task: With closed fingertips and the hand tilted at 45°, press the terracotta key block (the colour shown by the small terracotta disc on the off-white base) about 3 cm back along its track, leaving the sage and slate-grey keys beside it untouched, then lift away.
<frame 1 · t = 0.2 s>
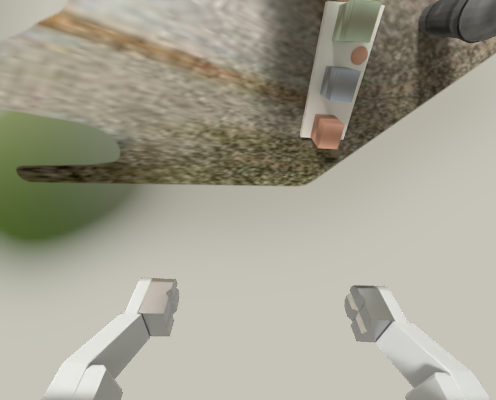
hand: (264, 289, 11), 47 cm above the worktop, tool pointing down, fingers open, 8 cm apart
terracotta key: (326, 131, 48), point 5 cm above the worktop, slide at 0.0 cm
beverage cup: (431, 18, 42), on the worktop
sage key: (354, 23, 38), point 5 cm above the worktop, slide at 0.0 cm
key base: (334, 79, 48), on the worktop
slate key: (338, 83, 43), point 5 cm above the worktop, slide at 0.0 cm
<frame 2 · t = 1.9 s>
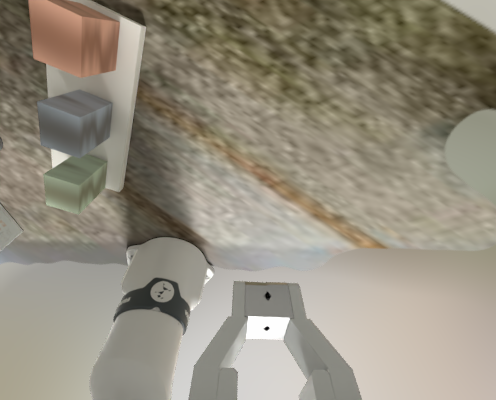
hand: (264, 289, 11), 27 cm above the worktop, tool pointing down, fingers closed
terracotta key: (80, 38, 23), point 5 cm above the worktop, slide at 0.0 cm
sage key: (78, 181, 32), point 5 cm above the worktop, slide at 0.0 cm
key base: (95, 108, 32), on the worktop
slate key: (79, 122, 28), point 6 cm above the worktop, slide at 0.0 cm
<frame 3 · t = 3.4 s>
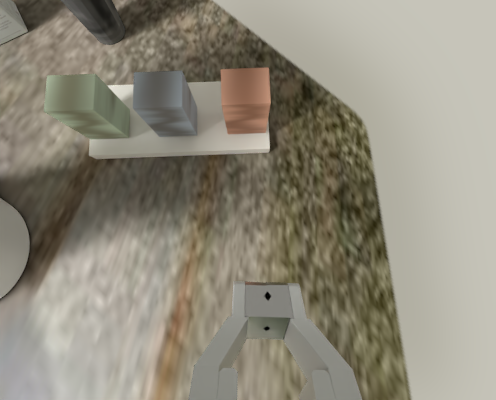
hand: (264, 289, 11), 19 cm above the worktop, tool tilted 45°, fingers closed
small box: (0, 31, 35), on the worktop
terracotta key: (245, 104, 27), point 5 cm above the worktop, slide at 0.0 cm
beverage cup: (111, 32, 35), on the worktop
sage key: (92, 110, 27), point 6 cm above the worktop, slide at 0.0 cm
key base: (182, 121, 33), on the worktop
slate key: (169, 107, 27), point 6 cm above the worktop, slide at 0.0 cm
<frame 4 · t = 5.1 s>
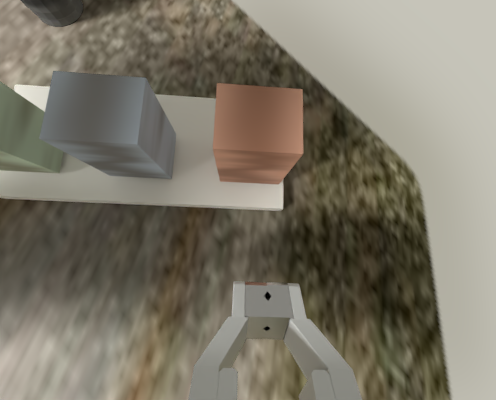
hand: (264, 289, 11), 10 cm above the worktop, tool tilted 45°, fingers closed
terracotta key: (254, 143, 16), point 5 cm above the worktop, slide at 0.0 cm
beverage cup: (61, 9, 24), on the worktop
key base: (153, 152, 21), on the worktop
slate key: (124, 135, 16), point 5 cm above the worktop, slide at 0.0 cm
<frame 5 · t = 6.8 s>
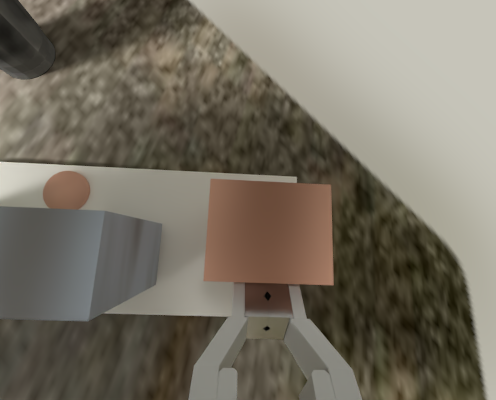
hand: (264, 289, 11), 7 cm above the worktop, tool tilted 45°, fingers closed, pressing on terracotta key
terracotta key: (261, 233, 13), point 6 cm above the worktop, slide at 1.5 cm, touching gripper
beverage cup: (30, 57, 20), on the worktop
key base: (136, 237, 18), on the worktop
slate key: (88, 255, 12), point 6 cm above the worktop, slide at 0.0 cm
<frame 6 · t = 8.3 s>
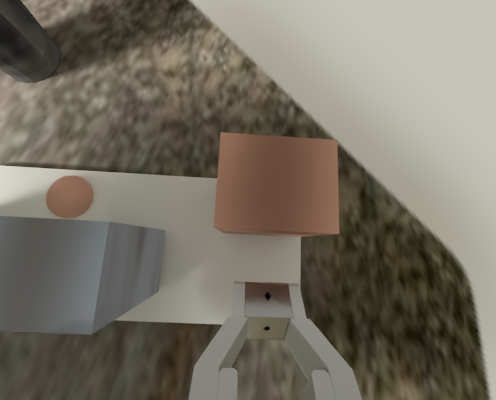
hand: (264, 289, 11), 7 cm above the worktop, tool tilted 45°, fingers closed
terracotta key: (267, 197, 13), point 6 cm above the worktop, slide at 4.0 cm
beverage cup: (34, 61, 20), on the worktop
key base: (138, 242, 17), on the worktop
slate key: (91, 263, 12), point 6 cm above the worktop, slide at 0.0 cm
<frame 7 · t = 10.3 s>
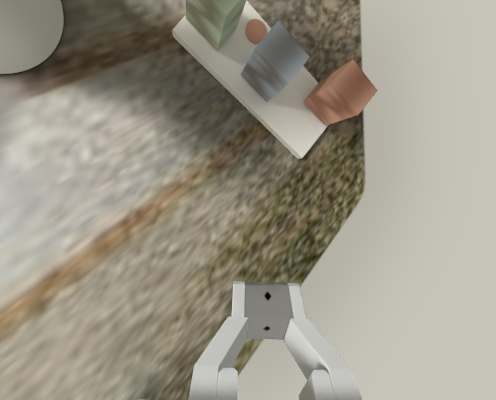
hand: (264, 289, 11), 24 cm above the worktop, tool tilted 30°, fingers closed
terracotta key: (337, 96, 31), point 6 cm above the worktop, slide at 4.0 cm
sage key: (215, 4, 26), point 5 cm above the worktop, slide at 0.0 cm
key base: (262, 78, 34), on the worktop
slate key: (272, 66, 28), point 5 cm above the worktop, slide at 0.0 cm
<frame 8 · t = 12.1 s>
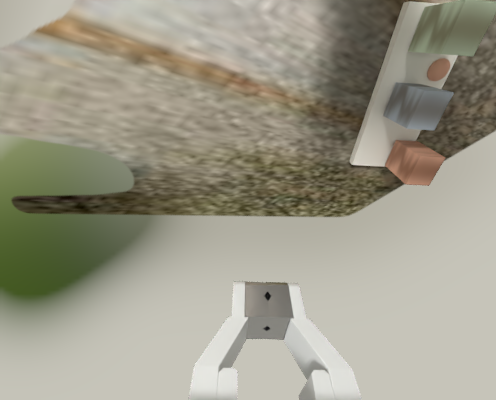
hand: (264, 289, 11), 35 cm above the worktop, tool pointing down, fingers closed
terracotta key: (411, 161, 39), point 6 cm above the worktop, slide at 4.0 cm
sage key: (447, 30, 29), point 6 cm above the worktop, slide at 0.0 cm
key base: (400, 98, 39), on the worktop
slate key: (414, 105, 34), point 6 cm above the worktop, slide at 0.0 cm
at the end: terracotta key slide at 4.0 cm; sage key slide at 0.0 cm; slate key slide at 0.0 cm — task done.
